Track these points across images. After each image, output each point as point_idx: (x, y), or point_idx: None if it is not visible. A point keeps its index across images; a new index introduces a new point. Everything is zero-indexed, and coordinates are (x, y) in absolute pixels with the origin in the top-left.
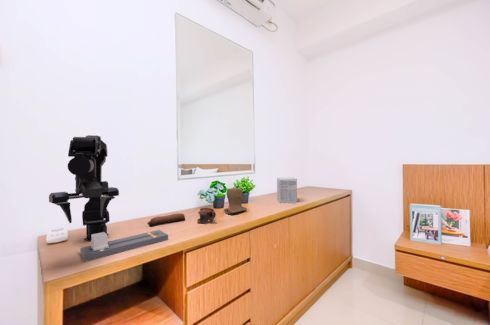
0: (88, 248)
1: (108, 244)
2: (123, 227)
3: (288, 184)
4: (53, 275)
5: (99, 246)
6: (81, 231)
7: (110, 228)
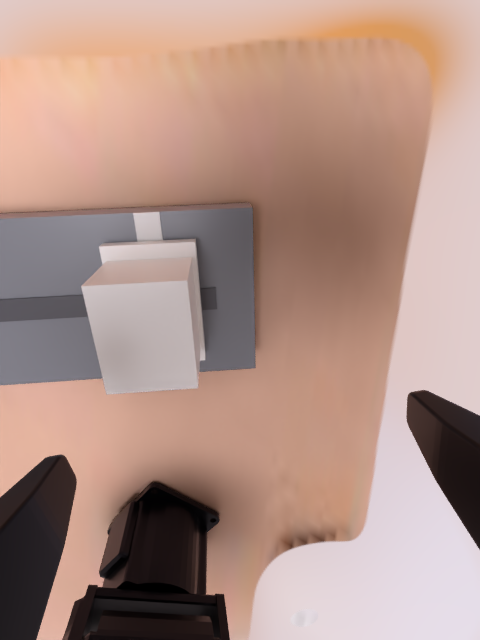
0: (218, 324)
1: None
2: None
3: None
4: (405, 103)
5: (158, 260)
6: None
7: None
